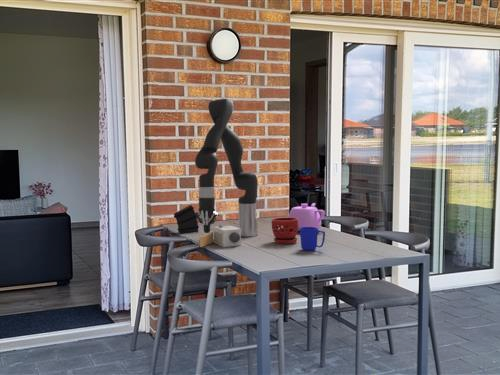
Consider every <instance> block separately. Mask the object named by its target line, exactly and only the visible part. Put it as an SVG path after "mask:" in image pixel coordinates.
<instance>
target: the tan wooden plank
mask: <svg viewBox="0 0 500 375" xmlns="http://www.w3.org/2000/svg"><path fill="white" fill-rule="evenodd" d="M213 243H214V231H210V232H209V233H205V234H204V235H202V236H199V239H198V244H199V248H203V247H205V246H207V245H210V244H213Z"/></svg>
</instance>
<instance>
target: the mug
mask: <svg viewBox="0 0 500 375" xmlns="http://www.w3.org/2000/svg"><path fill="white" fill-rule="evenodd" d="M319 233H321V234H322V241H321V244H320V245H318V236H319V235H318V234H319ZM299 236H300V246H301V247H300V248H301V250H302V251H306V252H307V251H308V252H309V251H315V250H316V249H317V248H322V247H323V246H324V244H325V238H326V231H323V230H319V229H318V228H315V227H302V228H300V231H299Z"/></svg>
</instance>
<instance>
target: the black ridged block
mask: <svg viewBox="0 0 500 375" xmlns="http://www.w3.org/2000/svg"><path fill="white" fill-rule="evenodd" d="M194 208H195V207H194V206H193V205H192V204H189V205H188V206H185V207H184V208H182V209H180V210H178V211H177V212H175V213H173V217H174V218H175V220H176V224H177V227H178V228H177V232H178V233H179V234H191V233H193V232H195V233H199V228H200V226H199V220H198V219H197V217H196V216H195V213H196V211H195V209H194Z"/></svg>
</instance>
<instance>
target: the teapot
mask: <svg viewBox="0 0 500 375" xmlns="http://www.w3.org/2000/svg"><path fill="white" fill-rule="evenodd" d="M315 206H316V202H313V203H312V204H311V205H310V206H309V205H308V203H301V204H300V206H294V207H292V208H291V210H290V211H289V214H288V218H297V219H298V232H300V228H302V227H315V228H318V230H319V229H320V228H321V226H322V220H323V219H324V217H325V215H326V211H325V210H323V209H318V208H317V207H315Z"/></svg>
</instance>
